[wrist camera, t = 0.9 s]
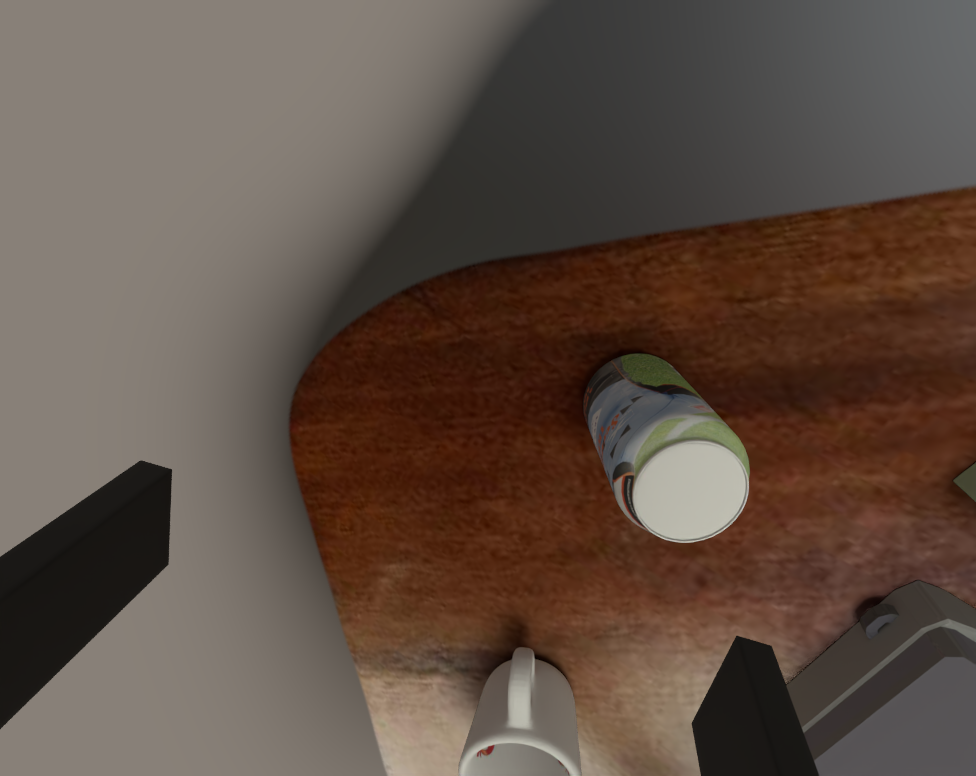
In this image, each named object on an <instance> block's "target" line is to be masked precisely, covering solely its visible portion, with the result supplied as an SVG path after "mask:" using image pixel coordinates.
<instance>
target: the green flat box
mask: <svg viewBox="0 0 976 776" xmlns="http://www.w3.org/2000/svg"><path fill="white" fill-rule="evenodd" d="M953 482H954V483H955V484H957V485H958V486H959V487H960V488H961V489H962V490H963V491H964V492H965V493H966V494H968V495H969V496H970V497H971V498H972V499H973V500H974V501H975V502H976V463H975V464H973V465H972V466H971V467H969V468H968V469H967V470H966V471H964V472H963V473H962V474H960V475H959V476H958V477H957V478H955V479H954V480H953Z"/></svg>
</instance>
